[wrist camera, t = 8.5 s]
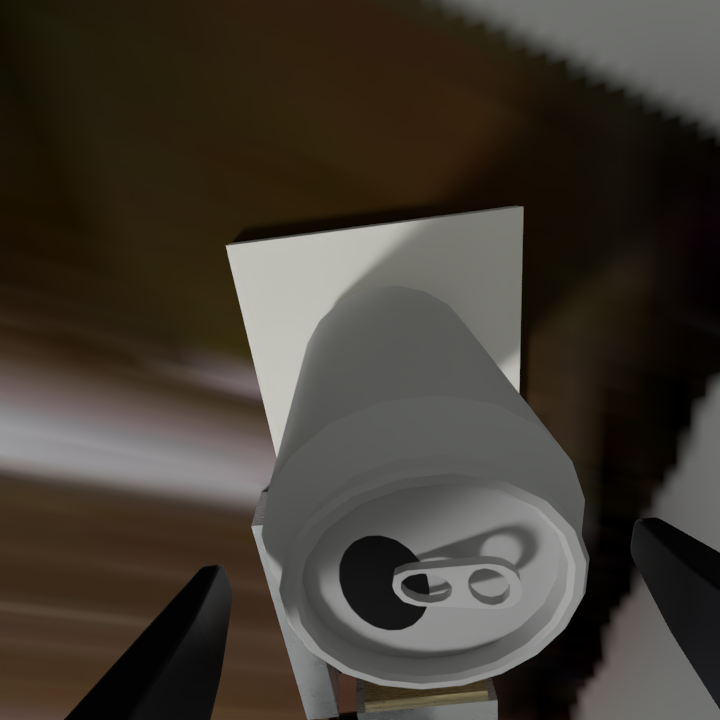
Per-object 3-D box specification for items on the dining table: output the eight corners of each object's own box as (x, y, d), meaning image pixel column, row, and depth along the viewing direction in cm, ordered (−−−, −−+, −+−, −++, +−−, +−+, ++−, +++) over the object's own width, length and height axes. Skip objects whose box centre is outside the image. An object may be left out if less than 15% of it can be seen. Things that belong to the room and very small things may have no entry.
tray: (512, 447, 22) (517, 457, 22) (285, 473, 23) (283, 483, 22) (516, 205, 18) (523, 206, 17) (230, 242, 18) (225, 245, 17)
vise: (479, 661, 29) (497, 731, 25) (311, 677, 29) (305, 748, 26) (474, 467, 23) (497, 523, 19) (261, 491, 23) (244, 550, 20)
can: (281, 308, 18) (177, 504, 7) (453, 259, 18) (621, 394, 7) (333, 448, 21) (315, 742, 10) (483, 411, 21) (636, 681, 10)
